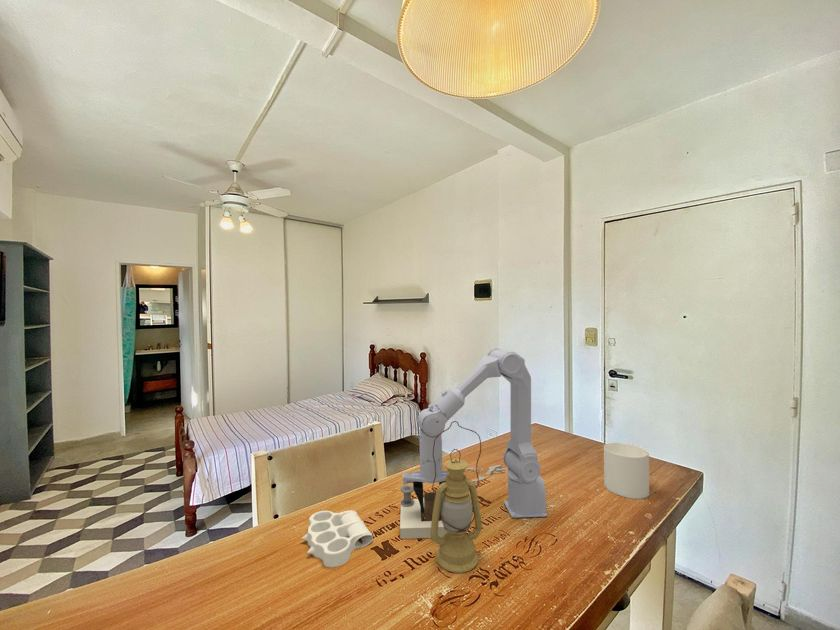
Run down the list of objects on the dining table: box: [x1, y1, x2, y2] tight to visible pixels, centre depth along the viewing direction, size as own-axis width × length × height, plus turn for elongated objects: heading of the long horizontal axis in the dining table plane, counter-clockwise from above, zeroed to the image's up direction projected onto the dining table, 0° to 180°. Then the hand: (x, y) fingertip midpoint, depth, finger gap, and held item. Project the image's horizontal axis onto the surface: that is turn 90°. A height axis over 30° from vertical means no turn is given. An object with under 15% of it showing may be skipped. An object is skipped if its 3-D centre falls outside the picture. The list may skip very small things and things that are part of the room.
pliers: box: [465, 464, 506, 483], centre depth 116 cm, size 10×2×15 cm
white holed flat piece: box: [300, 509, 374, 568], centre depth 82 cm, size 3×18×15 cm
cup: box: [603, 442, 650, 500], centre depth 104 cm, size 12×12×12 cm
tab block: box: [423, 491, 436, 521], centre depth 88 cm, size 4×4×7 cm
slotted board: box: [399, 484, 447, 540], centre depth 89 cm, size 12×13×6 cm
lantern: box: [430, 420, 483, 574], centre depth 76 cm, size 12×10×30 cm
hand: (431, 510), depth 88 cm, fingers open, 4 cm apart
